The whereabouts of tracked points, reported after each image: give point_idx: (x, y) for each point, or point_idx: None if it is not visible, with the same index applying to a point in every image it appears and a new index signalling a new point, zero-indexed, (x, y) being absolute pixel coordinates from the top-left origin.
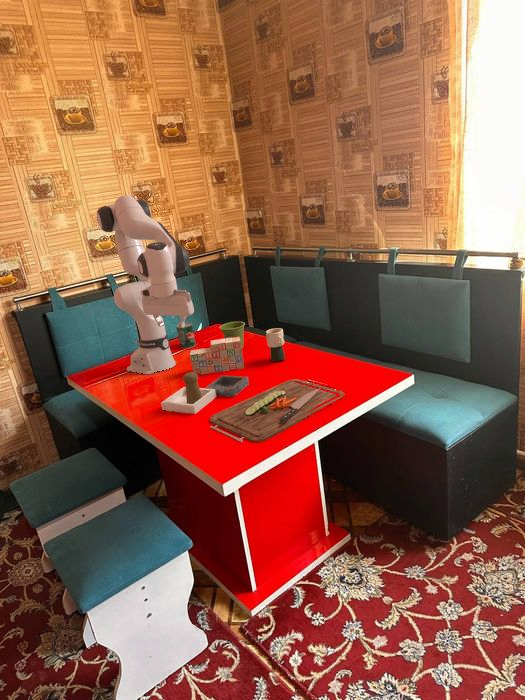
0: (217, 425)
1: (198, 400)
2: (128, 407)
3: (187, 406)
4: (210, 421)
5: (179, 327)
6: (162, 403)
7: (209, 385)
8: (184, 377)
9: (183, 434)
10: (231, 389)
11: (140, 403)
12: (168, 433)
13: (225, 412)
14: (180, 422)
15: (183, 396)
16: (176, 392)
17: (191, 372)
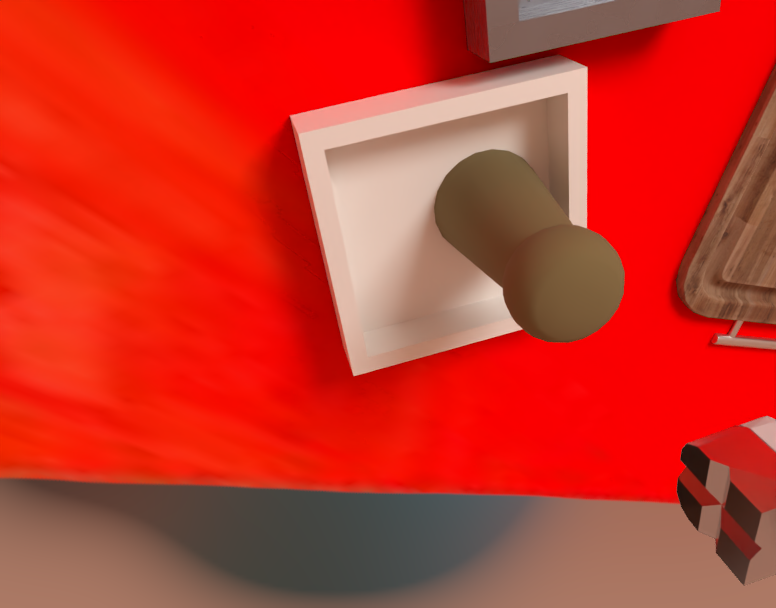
0: (742, 322)
1: None
2: (79, 422)
3: None
4: (688, 307)
5: (679, 497)
6: (362, 370)
7: (498, 20)
8: (555, 341)
9: (625, 429)
10: (705, 13)
11: (96, 356)
12: (556, 455)
13: (730, 216)
14: (544, 377)
15: (335, 171)
16: (327, 231)
17: (572, 271)
